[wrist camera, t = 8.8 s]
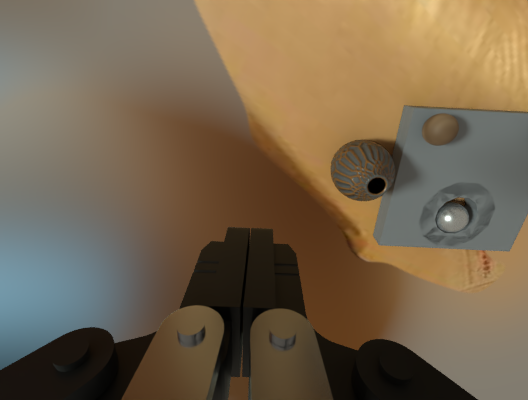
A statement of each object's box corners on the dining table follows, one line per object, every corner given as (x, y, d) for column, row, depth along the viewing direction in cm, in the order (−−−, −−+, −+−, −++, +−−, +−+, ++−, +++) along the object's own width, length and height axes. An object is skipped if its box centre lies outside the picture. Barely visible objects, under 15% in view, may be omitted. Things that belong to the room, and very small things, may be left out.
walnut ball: (420, 110, 31) (437, 114, 28) (450, 112, 31) (471, 116, 28) (412, 141, 32) (428, 148, 29) (441, 142, 33) (460, 149, 29)
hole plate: (404, 105, 33) (414, 107, 31) (554, 113, 33) (574, 115, 31) (373, 235, 41) (379, 245, 38) (495, 241, 41) (509, 251, 38)
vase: (391, 159, 36) (426, 183, 28) (350, 196, 38) (372, 228, 30) (355, 123, 34) (382, 137, 26) (314, 164, 36) (328, 189, 28)
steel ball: (440, 233, 35) (422, 223, 39) (469, 239, 36) (449, 228, 40) (451, 204, 34) (432, 196, 38) (481, 210, 35) (459, 201, 39)
